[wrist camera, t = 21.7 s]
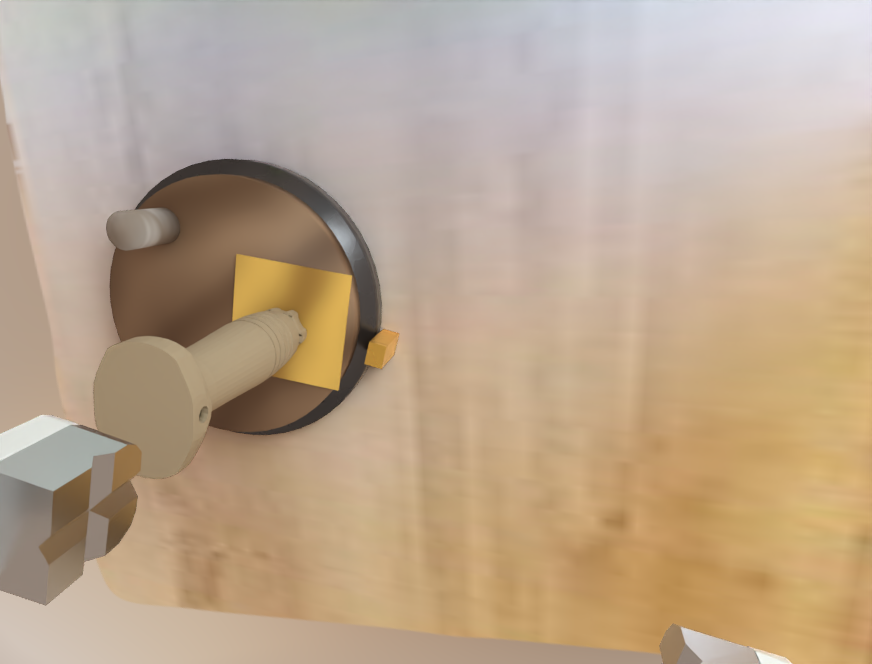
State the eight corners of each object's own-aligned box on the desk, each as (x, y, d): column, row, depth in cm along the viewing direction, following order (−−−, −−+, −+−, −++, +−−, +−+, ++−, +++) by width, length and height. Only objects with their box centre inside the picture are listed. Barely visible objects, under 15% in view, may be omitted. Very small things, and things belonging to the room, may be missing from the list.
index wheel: (411, 340, 41) (391, 364, 36) (228, 465, 47) (187, 501, 41) (250, 117, 40) (204, 108, 34) (78, 273, 45) (15, 286, 40)
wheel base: (141, 128, 43) (107, 125, 40) (429, 205, 41) (418, 208, 37) (117, 384, 49) (85, 399, 45) (368, 464, 46) (353, 487, 43)
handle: (251, 368, 42) (96, 467, 28) (254, 277, 40) (90, 334, 26) (317, 379, 41) (193, 487, 27) (322, 287, 40) (193, 351, 25)
